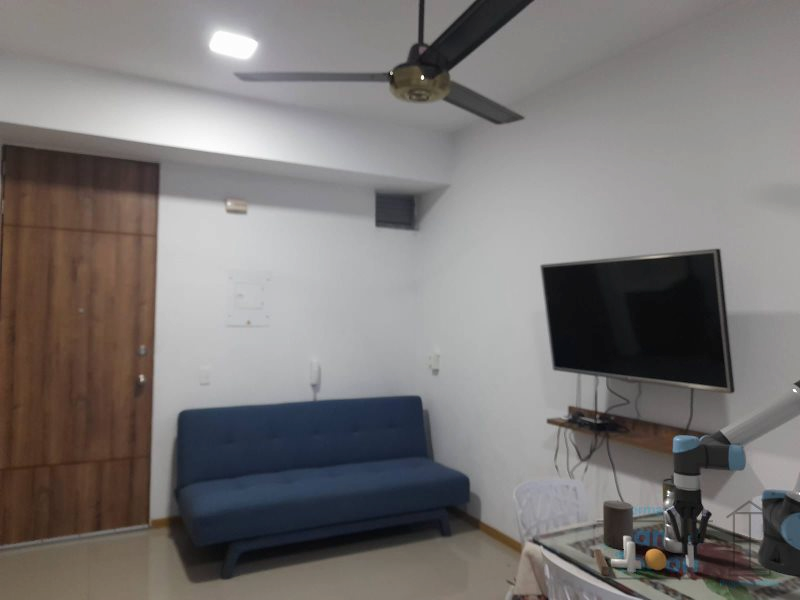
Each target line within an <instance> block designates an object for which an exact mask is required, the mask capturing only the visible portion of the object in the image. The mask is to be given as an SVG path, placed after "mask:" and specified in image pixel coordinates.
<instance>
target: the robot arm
mask: <svg viewBox="0 0 800 600" xmlns="http://www.w3.org/2000/svg"><path fill="white" fill-rule="evenodd" d="M799 416H800V379H799V380H797V381H795V382H794V383H792V384H791V386H790V389H789V390H787V391H785V392H784V393H781V394H780V395H778V396H777V397H775V398H773V399H772V400H769V401H768V402H766V403H765V404H762V405H761V406H760V407H758V408H756V409H754V410H752V411H751V412H749V413H747V414H746V415H744V416H742V417H741V418H738V419H737V420H735V421H733V422H732V423H729V424H728V425H727V426H725V427H723V428H721V429H720V430H718V431H716V432H714V433H712V434H706V435H703V436H701V437H700V438H699V437H698V436H694V435H686V434H685V435H683V434H681V435H675V436H674V437H673V439H672V458H673V459H672V461H673V462H672V465H673V474H674V485H676V486H675V487H674V503H673V506H672V507H670V508H666V509H665V510H666V512H667V513H668V515H669V517H670V521H671V524H672V528H673V532H674V535H675V538H676V540H677V541H678V542H681V543H682V552H683V553H682V554H683V555H684V556H685V564H686V566H687V567H688V568H695V556H697V555H698V545H699V544H703V543H705V541H704V540H705V536H706V532H707V528H708V524H709V519H710V518H711V517H712V516H713V514H712V512H711V511H710V510H709V509H707V508H705V507H704V505H703V502H702V499H703V498H702V489H701V488H702V474H701V471H702V470H701V469H703V470H715V471H716V470H718V471H719V470H721V471H730V472H735V471H737V472H742V471H744V470H745V468H746V461H747V459H746V453H745V449H744V448H743V447H745V446H747V445H749V444H750V443H752V442H754V441H756V440H757V439H759V438H761V437H763V436H764V435H766V434H768V433H770V432H772V431H774V430H776V429H778V428H780V427H781V426H782V425H784V424H787V423H788V422H790V421H792V420H794V419H795V418H797V417H799ZM760 501H761V509H762V510H761V512H762V534H763V536H762V537H763V538H762V540H761V543H760V545H759V546H760V547H759V549H758V551H757V561H758V564H760V565H761V566H763V567H764V566H765V568H766V567H767V568H766V569H768V568H769V570H771V571H774V572H778V573H780V574H781V573H782V574H786V575H791V576H800V472H799V473H798V477H797V478H796V482H795V486H794V489H793V490H785V489H783V490H782V489H764V490H763V491H762V492H761V500H760ZM675 510H676V511H677V512H678V514H679V515H680V518H681V536H680V532H679V529H678V525H677V522H676V518H675V516H674V515H675ZM700 514H701V518H700V521H699V522H700V523H699V526H697V525H698V524H697V523H698V517H700ZM688 518H689V519H690V534H688V523H687V522H688ZM697 527H698V528H697ZM689 537H690V541H689Z"/></svg>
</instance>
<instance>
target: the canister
mask: <svg viewBox="0 0 800 600" xmlns="http://www.w3.org/2000/svg"><path fill="white" fill-rule="evenodd" d="M661 483H662V504H663V503H664V501H665V500H666V499H667V496H666V494H667V490H674V487H675V486H676V485H674V473H673V474H670V477H669V478H662V480H661ZM663 516H664V513H663ZM687 523H688V535H690V519H689V518H688V522H687ZM662 527H663V529H664V530H665V520H664V519H663V526H662Z"/></svg>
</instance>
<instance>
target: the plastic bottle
mask: <svg viewBox="0 0 800 600" xmlns="http://www.w3.org/2000/svg"><path fill="white" fill-rule="evenodd" d="M666 496H667V499H666V500H665V501H664V503H663V502H662V512H663V513H664V515H663V521H664V520H665V529H664V537H663V547H664V548H665V550H666V551H668V552H670V553H672V554H683V552H682V543H681V542H678V541H677V540H676V538H675V535H674V532H673V528H672V524H671V521H670V517H669V515H668V513H667V512H666V510H665V509H666V508H670V507H672V506H673V503H674V490H667V494H666ZM674 516H675V518H676V522H677V525H678V529H679V532H680V536H681V518H680V515H679V514H678V512H677V511H676V510H675V515H674Z"/></svg>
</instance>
